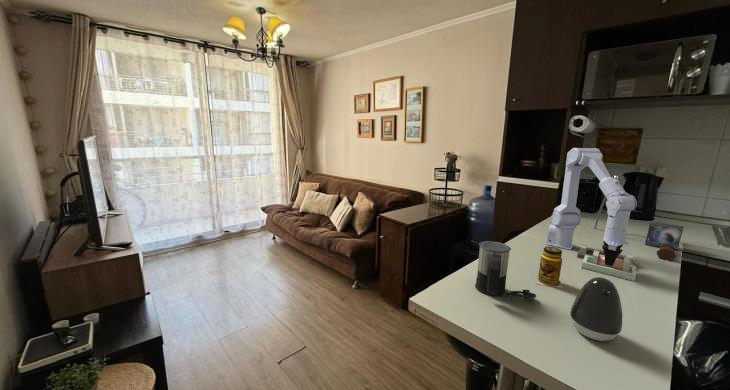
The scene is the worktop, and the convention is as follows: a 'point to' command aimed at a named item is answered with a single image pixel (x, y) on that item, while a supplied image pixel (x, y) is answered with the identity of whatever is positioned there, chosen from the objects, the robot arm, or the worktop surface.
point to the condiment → (550, 267)
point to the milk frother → (495, 270)
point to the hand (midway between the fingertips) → (609, 263)
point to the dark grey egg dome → (598, 310)
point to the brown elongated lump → (666, 252)
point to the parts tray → (609, 269)
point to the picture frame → (663, 234)
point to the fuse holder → (585, 250)
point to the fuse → (618, 264)
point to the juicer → (621, 181)
